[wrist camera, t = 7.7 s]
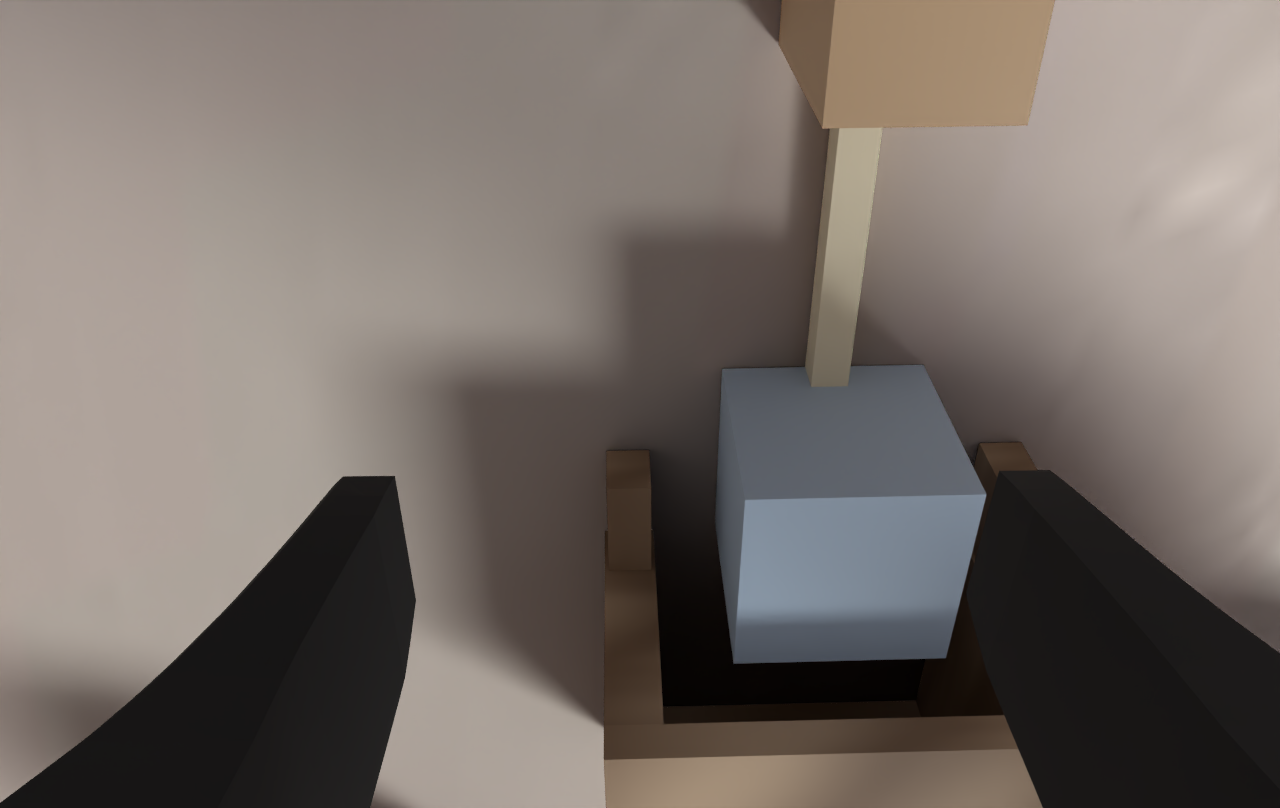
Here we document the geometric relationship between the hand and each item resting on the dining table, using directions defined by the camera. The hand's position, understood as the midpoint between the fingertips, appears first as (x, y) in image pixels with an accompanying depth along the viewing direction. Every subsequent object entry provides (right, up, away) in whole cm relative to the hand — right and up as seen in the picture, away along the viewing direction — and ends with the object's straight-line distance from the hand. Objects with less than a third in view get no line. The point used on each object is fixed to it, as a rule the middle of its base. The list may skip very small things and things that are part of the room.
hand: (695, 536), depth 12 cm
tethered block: (+3, +5, +8) cm, 10 cm away
